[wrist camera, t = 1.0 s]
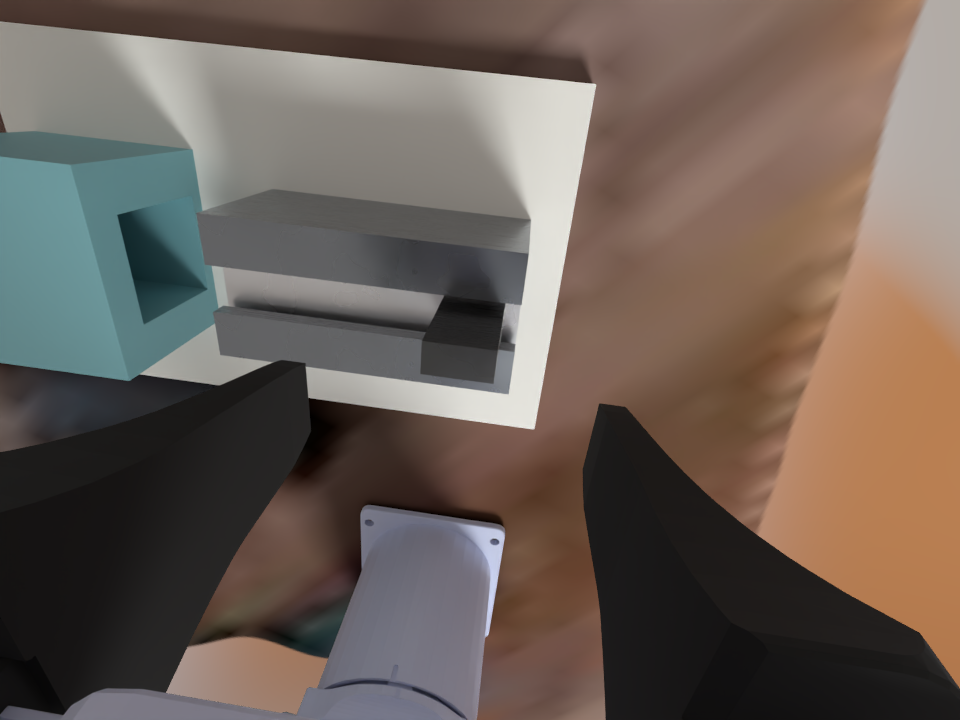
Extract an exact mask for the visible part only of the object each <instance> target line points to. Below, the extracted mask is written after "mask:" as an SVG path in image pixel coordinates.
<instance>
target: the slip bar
mask: <svg viewBox="0 0 960 720" xmlns="http://www.w3.org/2000/svg"><path fill="white" fill-rule="evenodd" d="M223 272H224V279H225V285H226V292H227V298H228V305H229V306H231V307H239V308H246V309H254V310H261V311H269V312H276V313H284V314H292V315H299V316H307V317H314V318H322V319H330V320H337V321H345V322H352V323H360V324H368V325H375V326H383V327H390V328H398V329H406V330H413V331H421V332H426V333H425V335H424V337H423V339H422V346H421V368H420V374H423V375H431V376H438V377H445V378H453V379H460V380H467V381H475V382H482V383H489V384H494V378H495V372H496V366H497V359H498V353H499V347H500V342H504V343H512V344H515V343H516V336H517V329H518V322H519V315H520V308H521V305H515V304H507V303H499V302H492V301H484V300H476V299H468V298H460V297H452V296H445V295H437V294H429V293H421V292H413V291H406V290H398V289H390V288H382V287H374V286H366V285H359V284H351V283H343V282H335V281H327V280H320V279H312V278H304V277H296V276H288V275H280V274H273V273H265V272H257V271H249V270H241V269H233V268H226V267H223Z"/></svg>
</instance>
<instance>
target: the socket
mask: <svg viewBox="0 0 960 720" xmlns="http://www.w3.org/2000/svg"><path fill="white" fill-rule="evenodd" d="M201 211H203V210H202V204H201V198H200V192H199V186H198V179H197V173H196V167H195V161H194V155H193V149H185V148H176V147H167V146H159V145H150V144H142V143H133V142H124V141H116V140H107V139H99V138H90V137H81V136H73V135H64V134H56V133H47V132H38V131H26V132H6V133H0V363H6V364H13V365H21V366H28V367H35V368H42V369H49V370H56V371H63V372H70V373H77V374H85V375H92V376H99V377H106V378H113V379H120V380H127V381H130V380H132V379H133V378H135V377H136V376H137V375H139V374H140V373H142V372H143V371H145V370H146V369H148V368H149V367H151V366H152V365H154V364H155V363H157V362H158V361H160V360H161V359H163V358H164V357H166V356H167V355H169V354H170V353H172V352H173V351H175V350H176V349H178V348H179V347H181V346H182V345H184V344H185V343H187V342H188V341H189V340H191V339H192V338H194V337H195V336H197V335H198V334H200V333H201V332H203V331H204V330H206V329H207V328H209V327H210V326H212V325H213V324H215V321H214V315H213V312H214V311H215V310H217V309H218V302H217V296H216V290H215V284H214V277H213V271H212V266H210V265H205V262H204V256H203V251H202V245H201V239H200V233H199V227H198V221H197V215H196V213H197V212H201Z"/></svg>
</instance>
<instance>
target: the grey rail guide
mask: <svg viewBox="0 0 960 720" xmlns="http://www.w3.org/2000/svg"><path fill="white" fill-rule="evenodd" d="M196 215H197V221H198V227H199V233H200V239H201V245H202V251H203V256H204V262H205V265H210V266H218V267H226V268H233V269H241V270H249V271H257V272H265V273H273V274H280V275H288V276H296V277H304V278H312V279H320V280H327V281H335V282H343V283H351V284H359V285H366V286H374V287H382V288H390V289H398V290H406V291H413V292H421V293H429V294H437V295H445V296H452V297H460V298H468V299H476V300H484V301H492V302H499V303H507V304H515V305H522V299H523V292H524V285H525V278H526V271H527V264H528V257H529V245H530V229H531V220H529V219H520V218H512V217H503V216H495V215H487V214H478V213H470V212H461V211H453V210H445V209H436V208H428V207H420V206H411V205H403V204H394V203H386V202H378V201H369V200H361V199H352V198H344V197H336V196H327V195H319V194H311V193H302V192H294V191H285V190H277V189H271V190H268V191H265V192H261V193H258V194H255V195H252V196H249V197H245V198H242V199H239V200H236V201H233V202H229V203H226V204H223V205H220V206H217V207H213V208H210V209H207V210H204V211H201V212H197V213H196ZM213 315H214V321H215V327H216V333H217V339H218V345H219V351H220V355H224V356H231V357H238V358H246V359H253V360H260V361H267V362H276V361H279V360H287V361H294V362H301V363H306V367H311V368H319V369H326V370H333V371H341V372H348V373H355V374H362V375H370V376H377V377H384V378H392V379H399V380H406V381H414V382H421V383H428V384H436V385H443V386H450V387H457V388H465V389H472V390H479V391H487V392H494V393H501V394H509V389H510V382H511V375H512V368H513V361H514V354H515V345H516V344H512V343H504V342H500V347H499V353H498V359H497V366H496V372H495V378H494V384H489V383H482V382H475V381H467V380H460V379H453V378H445V377H438V376H431V375H423V374H420V368H421V346H422V339H423V337H424V335H425V333H426V332H421V331H413V330H406V329H398V328H390V327H383V326H375V325H368V324H360V323H352V322H345V321H337V320H330V319H322V318H314V317H307V316H299V315H292V314H284V313H276V312H269V311H261V310H254V309H246V308H239V307H231V306H222V307H220V308H218V309H217V310H215V311H214V312H213Z"/></svg>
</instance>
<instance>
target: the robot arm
mask: <svg viewBox="0 0 960 720" xmlns="http://www.w3.org/2000/svg"><path fill="white" fill-rule="evenodd" d="M310 432H311V424H310V412H309V400H308V387H307V375H306V363H301V362H294V361H287V360H279V361H276V362H273V363H271V364H268V365H266V366H263V367H261V368H258V369H256V370H254V371H251V372H249V373H247V374H245V375H242V376H240V377H238V378H236V379H233V380H231V381H229V382H227V383H224V384H222V385H220V386H217V387H215V388H213V389H211V390H208V391H206V392H204V393H201V394H199V395H196V396H194V397H191V398H189V399H186V400H184V401H181V402H179V403H176V404H174V405H171V406H169V407H166V408H164V409H161V410H158V411H155V412H153V413H150V414H147V415H144V416H141V417H138V418H135V419H132V420H129V421H126V422H122V423H119V424H116V425H113V426H109V427H106V428H103V429H99V430H95V431H91V432H87V433H83V434H79V435H76V436H72V437H68V438H64V439H60V440H56V441H52V442H48V443H44V444H39V445H34V446H30V447H25V448H20V449H15V450H10V451H5V452H0V720H477V711H478V701H479V691H480V681H481V671H482V661H483V651H484V641H485V637H486V636H488V634H489V629H490V623H491V617H492V611H493V605H494V599H495V593H496V587H497V581H498V575H499V568H500V562H501V556H502V550H503V544H504V538H505V529H504V527H503V526H501V525H499V524H494V523H488V522H481V521H474V520H468V519H461V518H454V517H448V516H441V515H434V514H428V513H421V512H414V511H408V510H401V509H394V508H387V507H381V506H374V505H366V506H364V507H363V508H362V511H361V514H360V519H361V560H362V571H361V574H360V577H359V579H358V582H357V585H356V587H355V590H354V593H353V595H352V598H351V600H350V603H349V606H348V608H347V611H346V614H345V616H344V619H343V622H342V624H341V627H340V629H339V632H338V635H337V637H336V640H335V643H334V645H333V648H332V651H331V653H330V656H329V658H328V661H327V664H326V667H325V669H324V672H323V674H322V677H321V680H320V682H319V685H318V687H317V688H311V687H309V688H307V690H306V693H305V695H304V698H303V700H302V703H301V705H300V708H299V710H298V713H297V715H295V714H292V713H288V712H283V713H278V712H272V711H266V710H261V709H255V708H249V707H243V706H237V705H232V704H226V703H220V702H215V701H208V700H203V699H197V698H192V697H185V696H180V695H174V694H168V693H166V691H167V689H168V687H169V685H170V682H171V680H172V678H173V676H174V674H175V672H176V670H177V668H178V665H179V663H180V661H181V659H182V657H183V655H184V653H185V650H186V649H187V646H188V644H189V642H190V640H191V638H192V636H193V634H194V632H195V630H196V628H197V626H198V624H199V622H200V620H201V618H202V616H203V614H204V612H205V610H206V608H207V606H208V604H209V602H210V600H211V598H212V596H213V594H214V592H215V590H216V588H217V587H218V585H219V583H220V581H221V579H222V577H223V575H224V574H225V572H226V570H227V568H228V566H229V564H230V562H231V561H232V559H233V557H234V555H235V553H236V552H237V550H238V549H239V547H240V545H241V544H242V542H243V541H244V539H245V537H246V536H247V534H248V533H249V532H250V530H251V529H252V527H253V526H254V524H255V523H256V521H257V520H258V518H259V517H260V515H261V514H262V513H263V511H264V510H265V508H266V507H267V505H268V504H269V502H270V501H271V499H272V498H273V496H274V495H275V494H276V492H277V491H278V489H279V488H280V486H281V485H282V483H283V482H284V480H285V479H286V477H287V476H288V474H289V473H290V471H291V470H292V468H293V467H294V465H295V463H296V461H297V459H298V457H299V455H300V453H301V451H302V449H303V447H304V445H305V443H306V441H307V439H308V436H309V434H310ZM583 499H584V511H585V518H586V524H587V530H588V537H589V543H590V549H591V555H592V561H593V566H594V572H595V578H596V584H597V590H598V598H599V606H600V615H601V631H602V648H603V666H604V687H605V710H606V720H960V688H959V687H958V685H957V684H956V683H955V681H954V680H953V679H952V677H951V676H950V674H949V673H948V672H947V670H946V669H945V667H944V666H943V665H942V663H941V662H940V660H939V659H938V658H937V656H936V655H935V653H934V652H933V651H932V649H931V648H930V646H929V645H928V644H927V642H926V641H925V640H924V638H923V637H922V635H921V634H920V633H919V632H917V631H915V630H913V629H911V628H909V627H908V626H906V625H904V624H902V623H900V622H898V621H896V620H895V619H893V618H891V617H889V616H887V615H885V614H884V613H882V612H880V611H878V610H876V609H874V608H872V607H870V606H869V605H867V604H865V603H863V602H861V601H859V600H858V599H856V598H854V597H852V596H850V595H849V594H846V593H845V592H843V591H842V590H840V589H838V588H837V587H835V586H833V585H832V584H830V583H828V582H827V581H825V580H823V579H822V578H820V577H818V576H817V575H815V574H814V573H812V572H810V571H809V570H807V569H806V568H804V567H802V566H801V565H800V564H798V563H797V562H795V561H793V560H792V559H790V558H789V557H787V556H786V555H784V554H783V553H782V552H780V551H779V550H777V549H776V548H775V547H773V546H772V545H770V544H769V543H767V542H766V541H765V540H763V539H762V538H761V537H759V536H758V535H756V534H755V533H754V532H752V531H751V530H750V529H748V528H747V527H746V526H744V525H743V524H742V523H741V522H739V521H738V520H737V519H736V518H734V517H733V516H732V515H731V514H730V513H728V512H727V511H726V510H725V509H724V508H722V507H721V506H720V505H719V504H718V503H716V502H715V501H714V500H713V499H712V498H711V497H710V496H708V495H707V494H706V493H705V492H704V491H703V490H702V489H701V488H700V487H699V486H698V485H697V484H696V483H695V482H694V481H693V480H691V479H690V478H689V477H688V476H687V475H686V474H685V473H684V472H683V471H682V470H681V469H680V468H679V467H678V466H677V465H676V464H675V462H674V461H673V460H672V459H671V458H670V457H669V456H668V455H667V454H666V453H665V452H664V451H663V450H662V448H661V447H660V446H659V445H658V444H657V443H656V442H655V441H654V439H653V438H652V437H651V436H650V435H649V434H648V432H647V431H646V430H645V429H644V428H643V427H642V426H641V424H640V423H639V422H638V421H637V420H636V418H635V417H634V416H633V415H632V414H631V413H630V412H629V411H628V409H627V408H626V407H621V406H614V405H607V404H599V407H598V411H597V415H596V419H595V423H594V427H593V431H592V435H591V439H590V443H589V447H588V451H587V455H586V459H585V463H584V467H583ZM368 519H369V520H372V521H369V520H368ZM494 539H498V540H494Z"/></svg>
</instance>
